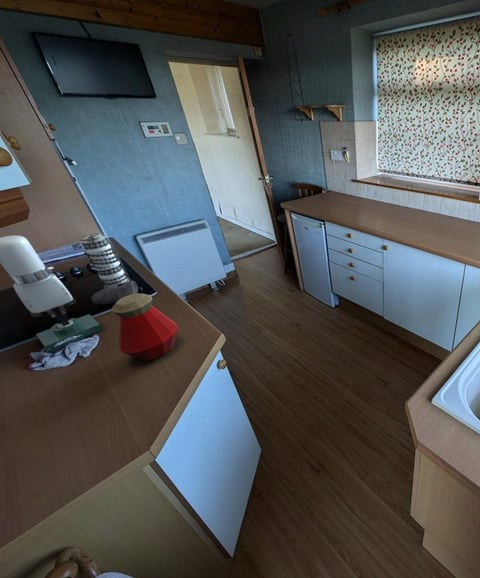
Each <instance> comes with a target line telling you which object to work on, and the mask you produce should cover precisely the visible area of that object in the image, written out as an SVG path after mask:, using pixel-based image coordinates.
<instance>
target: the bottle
mask: <svg viewBox="0 0 480 578" xmlns="http://www.w3.org/2000/svg"><path fill="white" fill-rule="evenodd" d="M111 311H112V313H114V314H115V315H117V316H118V317H119V319H120V320H119V334H118V335H119V336H118V347H119V350H120V352H121V353H123V354H126V355H128V356H130V357H133V358H136V359H138V360H140V361H145V362H146V361H147V362H148V361H152V360H156V359H159V358H160V357H162V356H164V355H166V354H167V353H169V352H170V351H171V350H172V349H173V347H174V346H175V344H176V340H177V335H178V333H179V332H178V331H179V327H178V325H177V324H176V322H175V321H174V320H172V319H170V317H168V316H166V314H164V313H163V312H161V311H160V310H159V309H157V308H156V307H155V306H153V297H152V296H151V295H150V294H146V293H138V292H137V293H136V294H131V295H128V296H125V297H123V298H121V299H120V300H118V301H117V302H115V303H114V304H113V306H112V308H111Z"/></svg>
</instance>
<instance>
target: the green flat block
mask: <svg viewBox="0 0 480 578" xmlns="http://www.w3.org/2000/svg"><path fill="white" fill-rule="evenodd" d="M69 319H70V320H72V321H73V322H74V323H73V324H72V325H70V326H68V327H65V328H61V329H58V328H57V325H58V323H57V322H56V323H55V324H54V325H52V327H51V328H49V329H46V330H43V331H41V332H38V333H36V334H35V335H36V337H37V338H38V339H39V340H40V342H41V344H42V345H43V346H44V348H45V349H46V350H47V349H49V348H51V347H52V346H54V345H55V344H56V343H58V342H61V341H64V340H65V339H67V338H69V337H73V336H78V335H82V336H80V337H77V338H76V339H73V340H70V341H68V342H65V343H63V344H61V345H58V346H56V347H53V348H51V349H49V350H47V352H49V353H51V352H54V351H56V350H59V349H61V348H63V347H65V346H67V344H68V343H69V342H72V343H75V342H77V341H79V340H82V339H85V338H87V337H89V336H92V335H94V334H96V333H98V332H101V331H104V328H103V327H102V325H101V324H100V323H99V322H98V321H97V320H96V319H95V318H94V317H93V316H92V315H91V314H86V315H83V316H81V317H78V318H76V317H75V318H74V317H71V318H69ZM74 341H75V342H74ZM68 345H69V344H68Z"/></svg>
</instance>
